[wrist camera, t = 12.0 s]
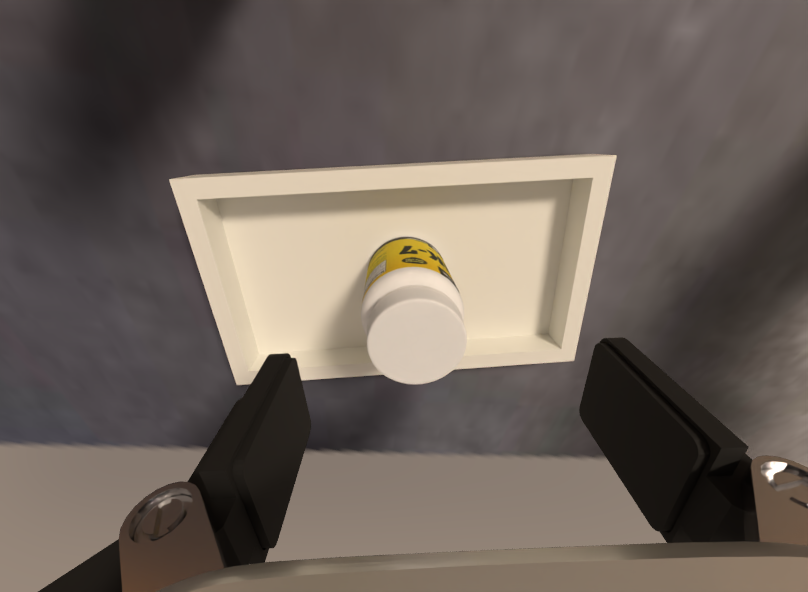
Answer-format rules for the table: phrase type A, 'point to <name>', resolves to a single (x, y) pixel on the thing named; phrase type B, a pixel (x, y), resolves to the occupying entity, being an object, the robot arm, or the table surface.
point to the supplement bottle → (412, 312)
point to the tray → (381, 221)
